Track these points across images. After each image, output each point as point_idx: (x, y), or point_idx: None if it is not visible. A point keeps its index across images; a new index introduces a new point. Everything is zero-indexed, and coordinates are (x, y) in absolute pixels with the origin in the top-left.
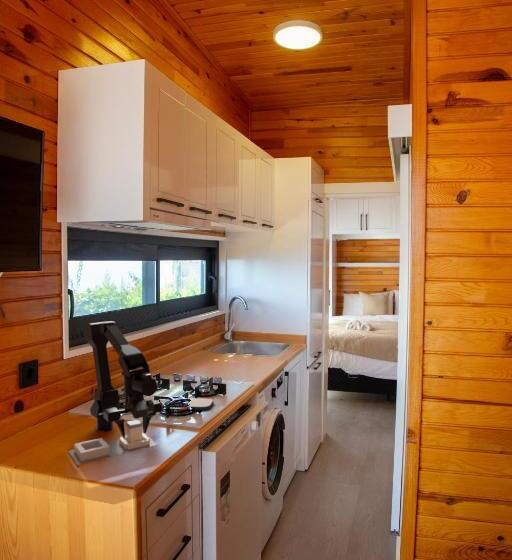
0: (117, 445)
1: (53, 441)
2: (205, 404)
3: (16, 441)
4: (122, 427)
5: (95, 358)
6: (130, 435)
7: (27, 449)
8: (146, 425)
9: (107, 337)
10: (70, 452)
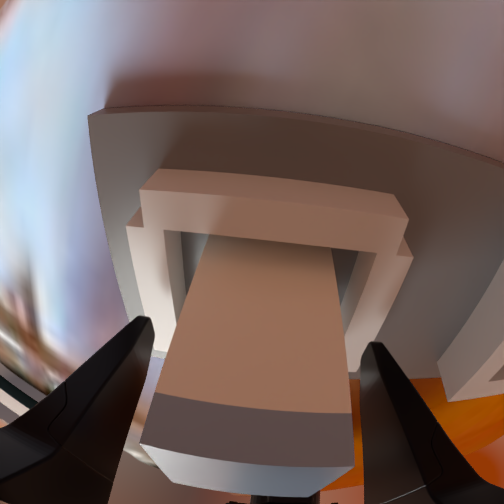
0: (392, 317)
1: (454, 433)
2: None
3: (481, 443)
4: (434, 449)
5: None
6: (343, 333)
7: None
8: (94, 380)
9: None
10: None
